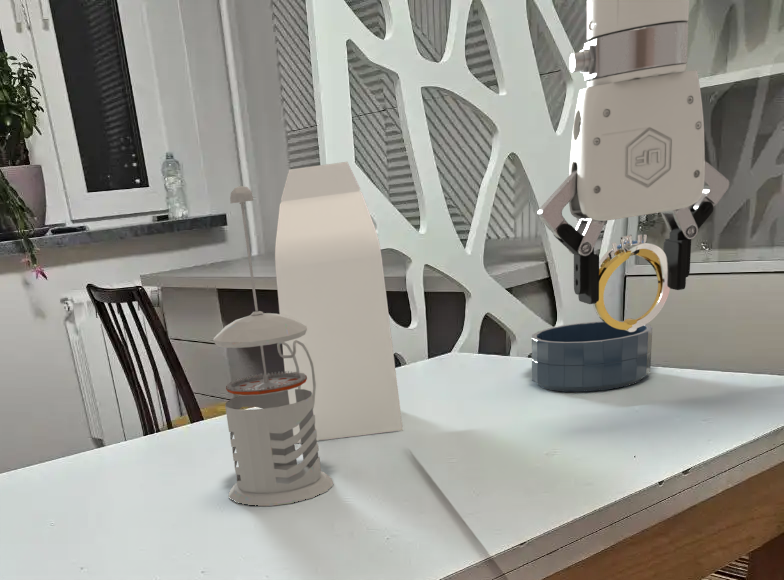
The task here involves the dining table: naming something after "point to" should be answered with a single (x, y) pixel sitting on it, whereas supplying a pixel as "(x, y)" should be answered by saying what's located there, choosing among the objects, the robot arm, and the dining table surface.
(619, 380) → the bowl
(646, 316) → the ring
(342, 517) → the dining table surface
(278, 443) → the french press
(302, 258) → the milk
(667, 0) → the robot arm
